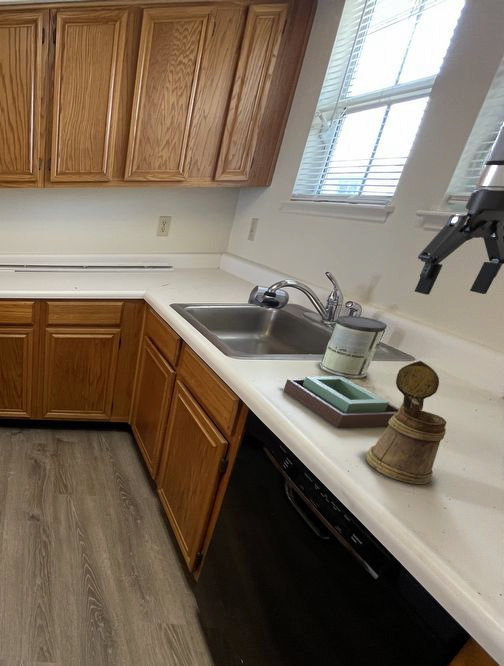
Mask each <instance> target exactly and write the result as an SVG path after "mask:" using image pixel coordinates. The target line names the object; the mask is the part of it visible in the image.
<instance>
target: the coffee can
mask: <svg viewBox="0 0 504 666" xmlns="http://www.w3.org/2000/svg"><path fill="white" fill-rule="evenodd" d="M387 327H388V325H387V324H386V323H385V322H383V321H381V320H378V319H375V318H370V317H366V316H360V315H339V316H337V317H336V320H335V324H334V327H333V329H332V332H331V335H330V337H329V340H328V343H327V346H326V348H325V351H324V354H323V356H322V359H321V362H320V364H319V367H320V368H321V369H322V370H324V371H326V373H327V372H328V373H329V374H332V375H334V376H342V377H343V378H351V379H361V378H364V377H366V375H367V372H368V370H369V367H370V365H371V363H372V360H373V358H374V355H375V353H376V351H377V348H378V346H379V344H380V341H381V339H382V337H383V334H384V333H385V330H386V329H387Z"/></svg>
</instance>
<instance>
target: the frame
mask: <svg viewBox="0 0 504 666" xmlns="http://www.w3.org/2000/svg"><path fill="white" fill-rule="evenodd" d="M304 379H305V380H304V383H303V386H302V387H303V388H305V389H306V390H308V391H309V392H311V393H313V394H314V395H316V396H317V397H319V398H320V399H322V400H323V401H325V402H326V403H328V404H330V405H331V406H333V407H334V408H336V409H337V410H339V411H340V412H342V413H372V412H385V410H386V408H387V406H388V404H389V403H390V402H389V401H387V400H385V399H383V398H381V397H380V396H378V395H376V394H374V393H372V392H371V391H369V390H367V389H365V388H363V387H362V386H359V385H358V384H356V383H355V382H352V381H350V380H349V379H348V378H346V377H344V376H339V375H332V376H331V375H327V376H322V375H321V376H305V377H304Z"/></svg>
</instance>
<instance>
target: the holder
mask: <svg viewBox="0 0 504 666" xmlns="http://www.w3.org/2000/svg"><path fill="white" fill-rule="evenodd" d="M304 380H305V378H287V379H286V382H285V385H284V388H283V391H284V392H285V393H287V394H288V395H290V396H292V398H294V399H295V400H297V401H299V402H300V403H301V404H303V405H304V406H306V407H307V408H308V409H310V410H311V411H313V412H314V413H316V414H317V415H319V416H320V417H321V418H323V419H324V420H325V421H327V422H328V423H330V424H331V425H333V426H334V427H336V428H337V429H338V428H339V429H342V428H344V429H345V428H368V427H369V428H370V427H373V428H374V427H388V426H389V423H388V422H389V420H390V418H391V417H392V416H393V415H394V414H397V413H398V411H399V409H400V407H397V406H395V405H394V404H392V403H390V402H389V404H388V406H387V408H386V410H385V412H372V413H342V412H340V411H339V410H337V409H336V408H334V407H333V406H331V405H330V404H328V403H326V402H325V401H323V400H322V399H320V398H319V397H317V396H316V395H314V394H313V393H311V392H309V391H308V390H306V389H305V388H303V387H302V386H303V383H304Z"/></svg>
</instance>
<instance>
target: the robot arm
mask: <svg viewBox="0 0 504 666" xmlns="http://www.w3.org/2000/svg"><path fill="white" fill-rule="evenodd" d="M475 187H476V188H477V189H475V190H473V191H471V193H470V195H469V198H468V200H467V201H466V204H465V206H464V207H465V209H466V210H468V211H467V213H466V214H460V213H459V214H458V213H453V214H451V215H450V216H449V218H448V219H447V221H446V223H445V225H444V226H443V227H442V228H441V229H440V230H439V232H438V233H437V234H436V235H435V236H434V238H433V239H431V241H430V242H429V243H428V244H427V245H426V247H425V248H424V249H423V250H422V251H421V252H420V253H419V254H418V256H417V259H418V260H420V261H421V262H424V265H423V267H422V269H421V272H420V274H419V280H418V281H417V284H416V286H415V289H414V292H415V293H418V294H423V295H427V296H428V295H430V293H431V292H432V290H433V287H434V285H435V282H436V281H437V278H438V276H439V274H440V272H441V270H442V268H443V264H442V262H443V261H444V260H445V259H446V258H448V257H449V256H450V255H451V254H453V252H455V251H456V250H457V249H459V248H460V247H461V246H462V245H463V244H464V243H466V242H467V241H471V240H473V239H480V238H481V239H483V242H484V247H485V250H486V253H487V257H488V261H484V262H483V263H482V266H481V268H480V269H479V272H478V274H477V276H476V277H475V280H474V281H473V284H472V285H471V287H470V290H469V292H473V293H477V294H481V295H486V294H487V293H488V291H489V290H490V287H491V285H492V284H493V281H494V279H496V277H497V275H498V273H499V271H500V270H501V268H502V266H503V265H504V122H503V123H502V125H501V126H500V128H499V132H498V134H497V136H496V138H495V141H494V143H493V145H492V147H491V150H490V151H489V155H488V157H487V159H486V161H485V163H484V166H483V169H482V171H481V172H480V175H479V177H478V179H477V181H476V183H475Z"/></svg>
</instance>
